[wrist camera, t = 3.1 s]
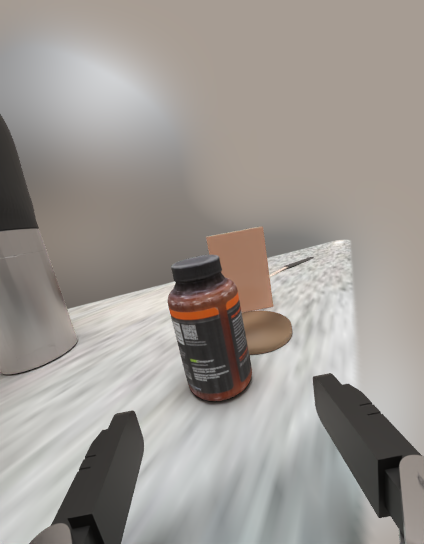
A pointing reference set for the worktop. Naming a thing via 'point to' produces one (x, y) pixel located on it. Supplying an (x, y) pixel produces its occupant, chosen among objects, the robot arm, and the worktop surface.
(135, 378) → the worktop surface
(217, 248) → the tile
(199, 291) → the supplement bottle
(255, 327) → the coaster
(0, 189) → the robot arm
